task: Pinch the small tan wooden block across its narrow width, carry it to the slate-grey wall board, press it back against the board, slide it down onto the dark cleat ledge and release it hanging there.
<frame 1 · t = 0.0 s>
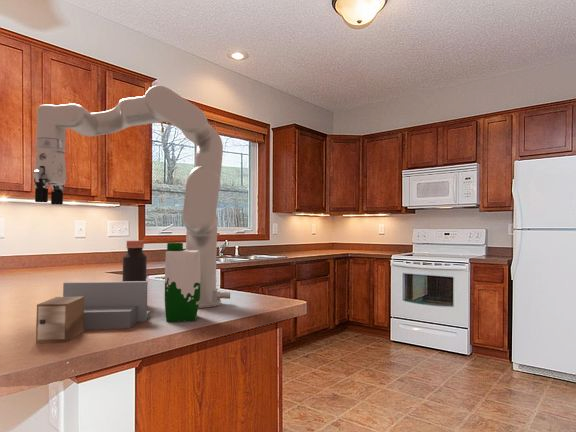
hand: (49, 203, 117), 31 cm above the countertop, fingers open, 9 cm apart
bottle: (134, 306, 120), on the countertop
tan wooden block: (61, 337, 85), on the countertop
milk carton: (182, 319, 103), on the countertop
wall board: (105, 321, 100), on the countertop
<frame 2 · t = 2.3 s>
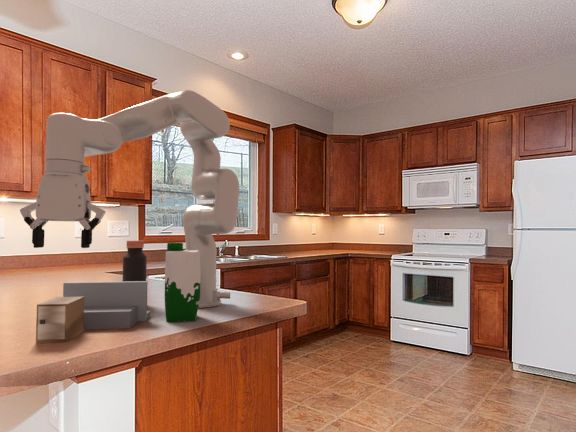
hand: (62, 247, 86), 19 cm above the countertop, fingers open, 9 cm apart
nothing on the countertop moved.
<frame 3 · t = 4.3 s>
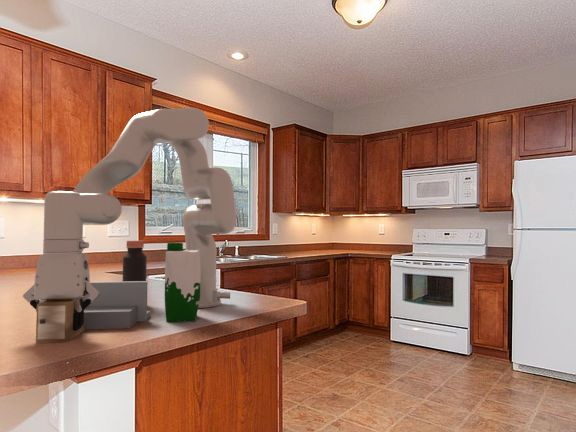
hand: (61, 328, 86), 2 cm above the countertop, fingers closed on tan wooden block, 6 cm apart
tan wooden block: (61, 336, 85), on the countertop, touching gripper
everything else where it was.
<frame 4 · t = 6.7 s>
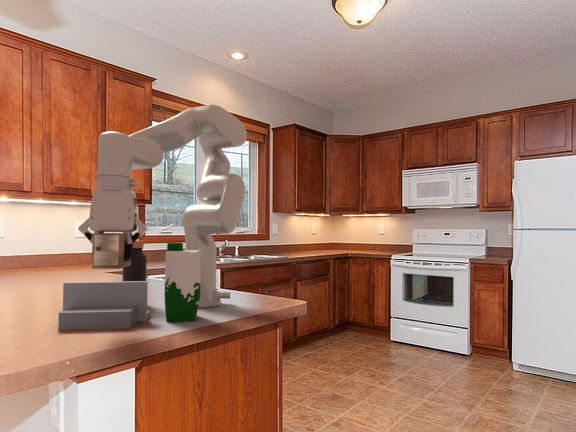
hand: (112, 259, 92), 16 cm above the countertop, fingers closed on tan wooden block, 6 cm apart
tan wooden block: (112, 266, 92), point 15 cm above the countertop, touching gripper
everything else where it was.
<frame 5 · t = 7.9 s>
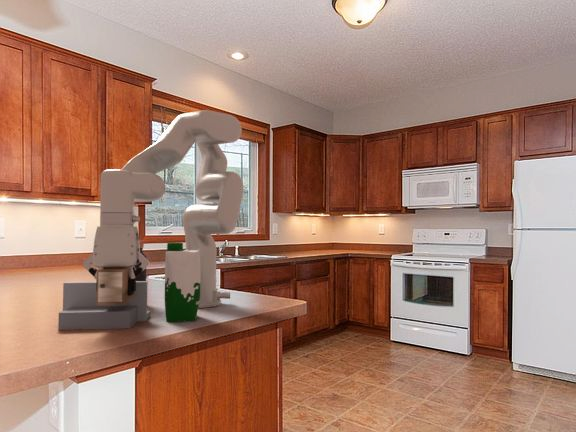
hand: (116, 294, 95), 8 cm above the countertop, fingers closed on tan wooden block, 6 cm apart
tan wooden block: (116, 301, 94), point 6 cm above the countertop, touching gripper
everything else where it was.
when the fingers open (6 cm above the countertop, at t = 8.9 s): tan wooden block stays where it is, resting on wall board.
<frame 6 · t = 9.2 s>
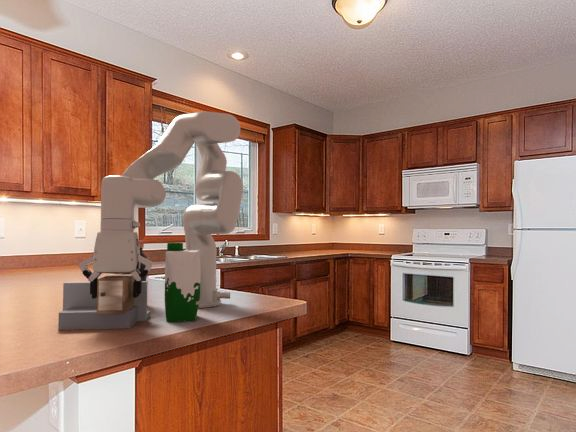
hand: (116, 297, 95), 7 cm above the countertop, fingers open, 9 cm apart
tan wooden block: (116, 309, 95), point 4 cm above the countertop, touching wall board
everything else where it was.
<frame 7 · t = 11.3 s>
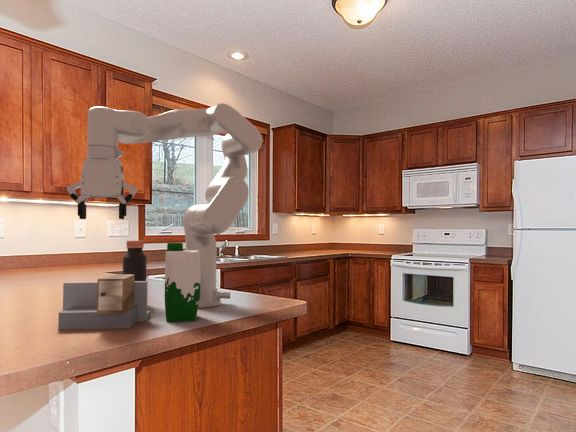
hand: (102, 219, 104), 26 cm above the countertop, fingers open, 9 cm apart
nothing on the countertop moved.
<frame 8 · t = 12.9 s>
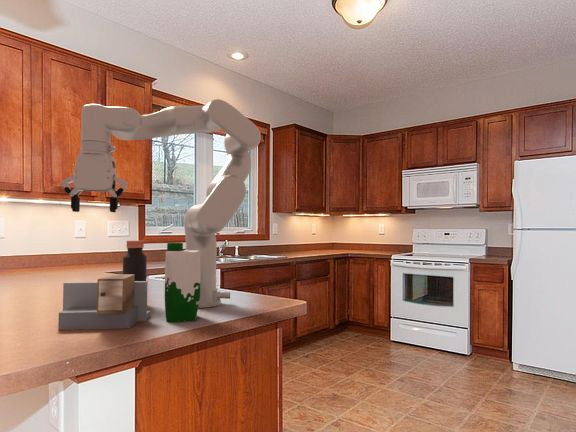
hand: (94, 211, 108), 28 cm above the countertop, fingers open, 9 cm apart
nothing on the countertop moved.
at the end: tan wooden block inside the target area (0.2 cm from its centre), point 4.0 cm above the countertop; tan wooden block touching wall board; tan wooden block tilted 0° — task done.
